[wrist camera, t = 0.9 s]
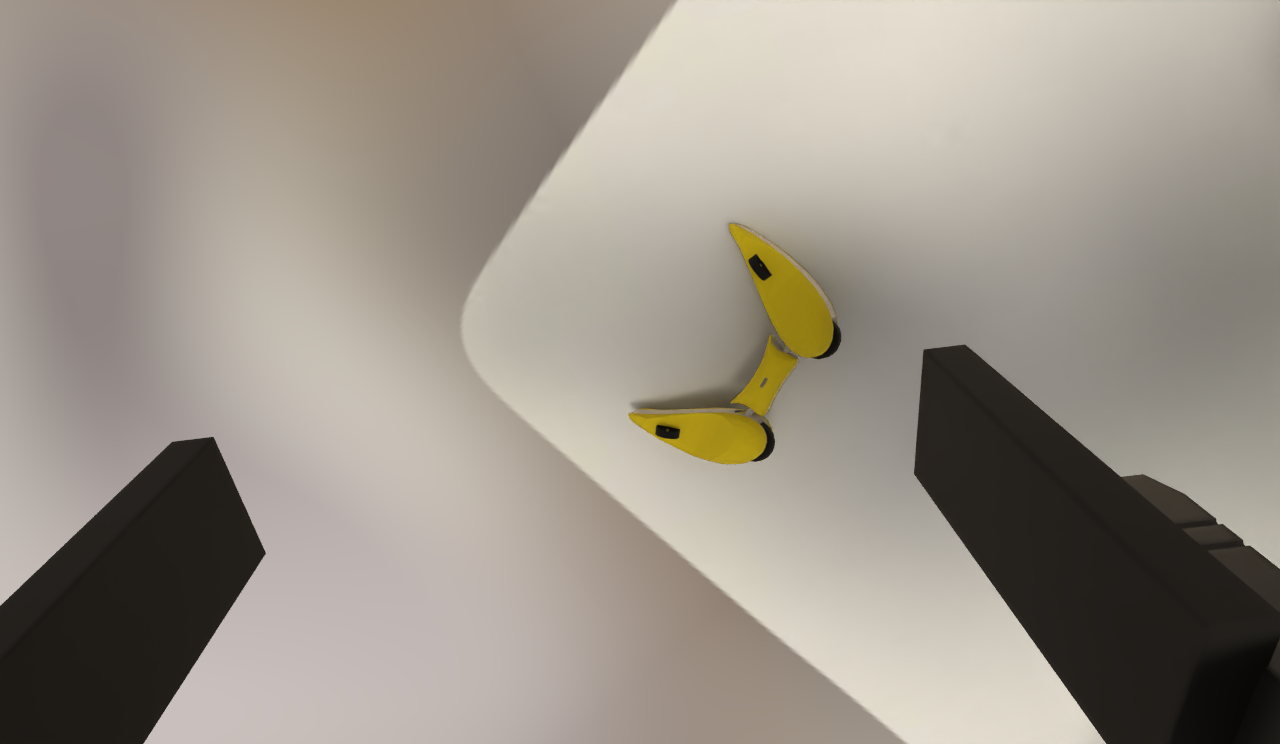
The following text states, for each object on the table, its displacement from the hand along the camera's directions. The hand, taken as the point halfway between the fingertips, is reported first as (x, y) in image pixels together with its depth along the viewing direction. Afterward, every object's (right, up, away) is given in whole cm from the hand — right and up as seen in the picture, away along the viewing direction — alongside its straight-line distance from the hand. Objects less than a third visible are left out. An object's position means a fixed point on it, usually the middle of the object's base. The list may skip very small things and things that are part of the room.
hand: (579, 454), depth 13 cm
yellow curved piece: (+6, +3, +18) cm, 19 cm away
